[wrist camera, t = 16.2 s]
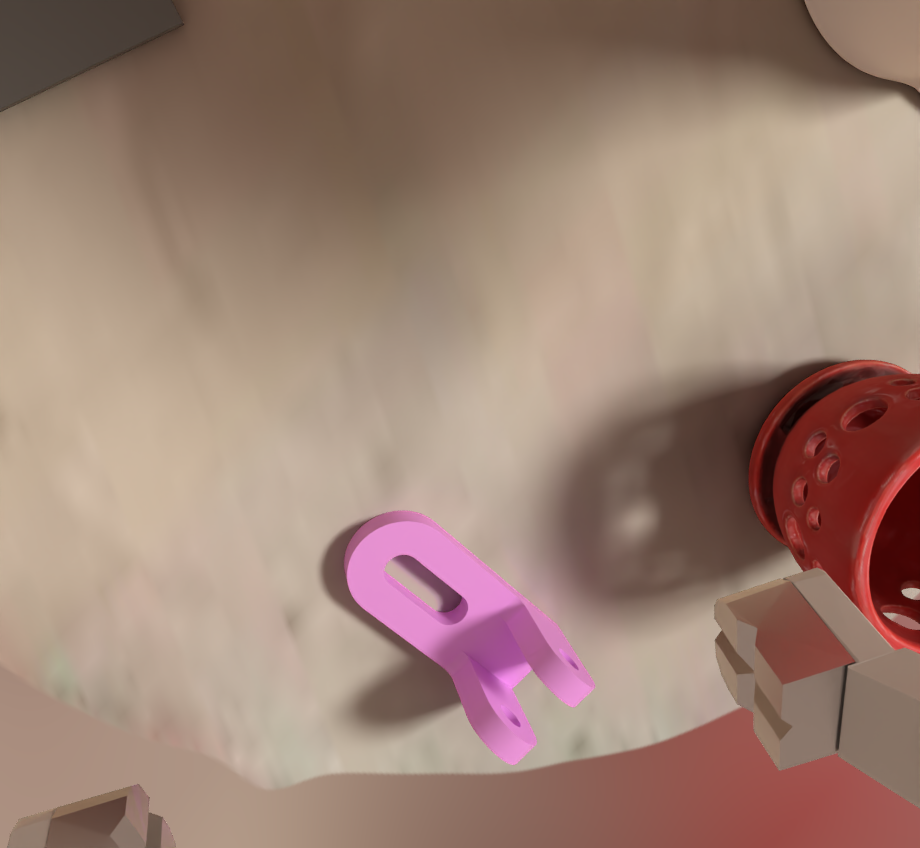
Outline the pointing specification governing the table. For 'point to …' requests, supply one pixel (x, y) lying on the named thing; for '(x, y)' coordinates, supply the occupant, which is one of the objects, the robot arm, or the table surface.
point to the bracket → (466, 626)
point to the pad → (71, 39)
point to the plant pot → (848, 485)
